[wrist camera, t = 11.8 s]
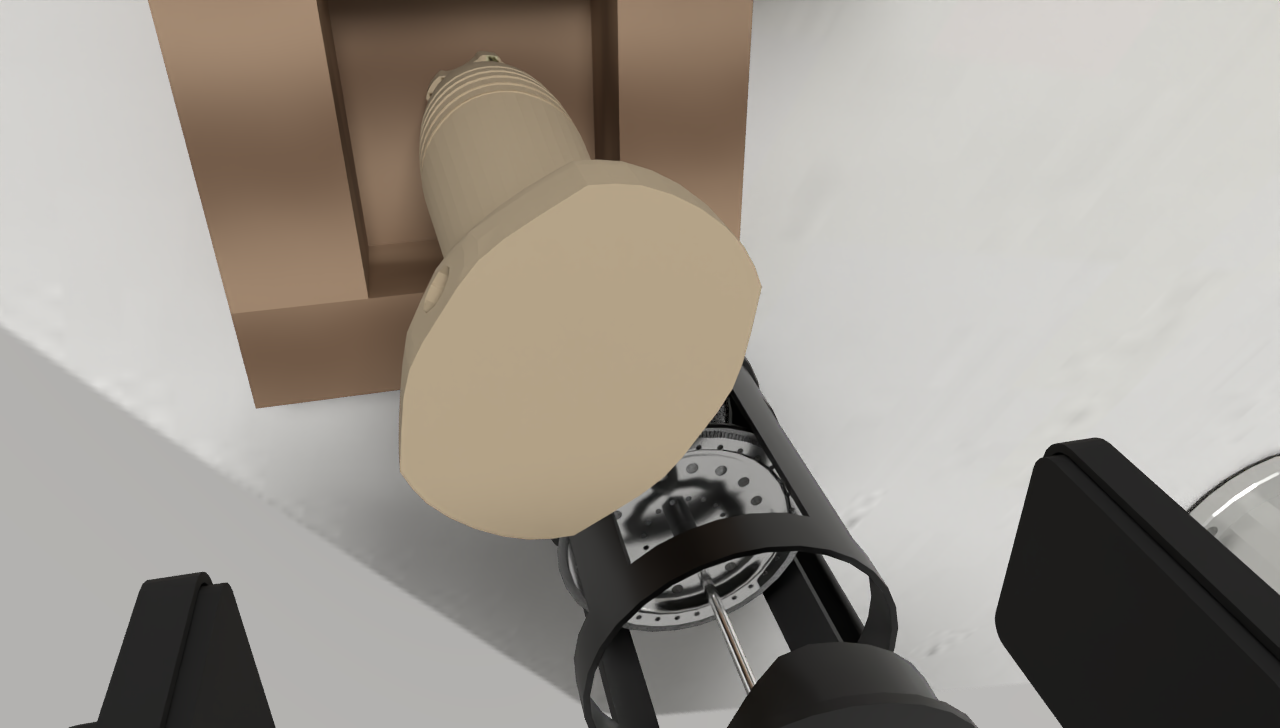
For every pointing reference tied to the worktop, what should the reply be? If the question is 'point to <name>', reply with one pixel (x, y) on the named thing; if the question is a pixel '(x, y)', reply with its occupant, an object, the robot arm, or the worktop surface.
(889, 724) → the french press
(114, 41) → the worktop surface
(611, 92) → the socket block
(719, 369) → the handle
